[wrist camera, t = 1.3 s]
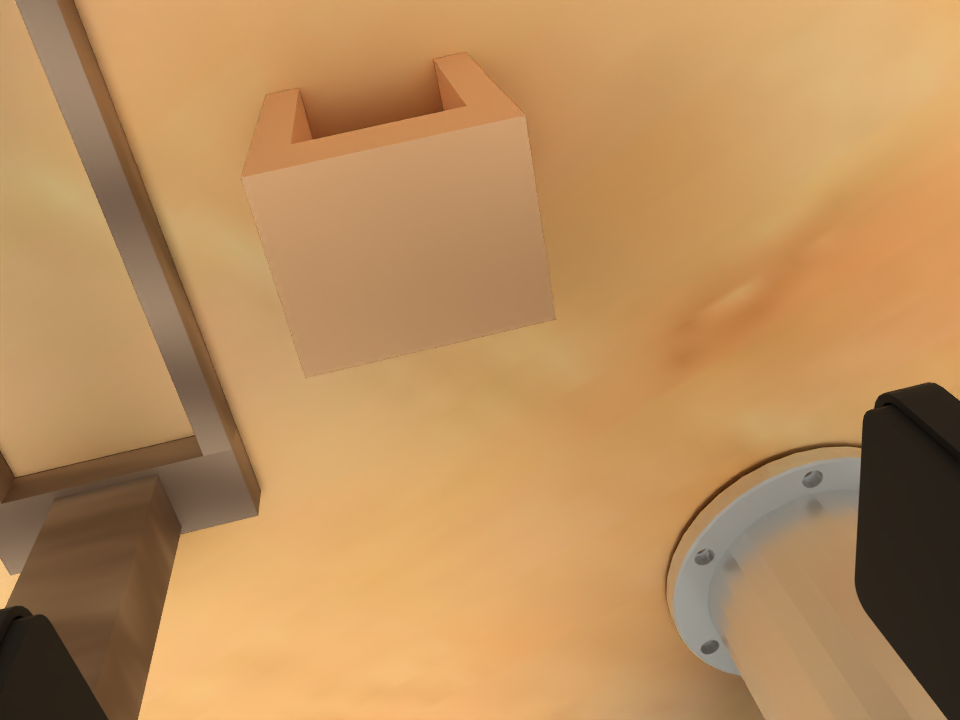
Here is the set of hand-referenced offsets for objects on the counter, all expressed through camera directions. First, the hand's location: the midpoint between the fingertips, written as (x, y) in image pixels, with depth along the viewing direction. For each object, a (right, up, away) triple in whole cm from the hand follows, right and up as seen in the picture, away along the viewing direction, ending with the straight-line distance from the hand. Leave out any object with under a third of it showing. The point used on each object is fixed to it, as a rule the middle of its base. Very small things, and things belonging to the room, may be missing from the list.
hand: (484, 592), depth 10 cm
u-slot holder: (-3, +9, +18) cm, 20 cm away
